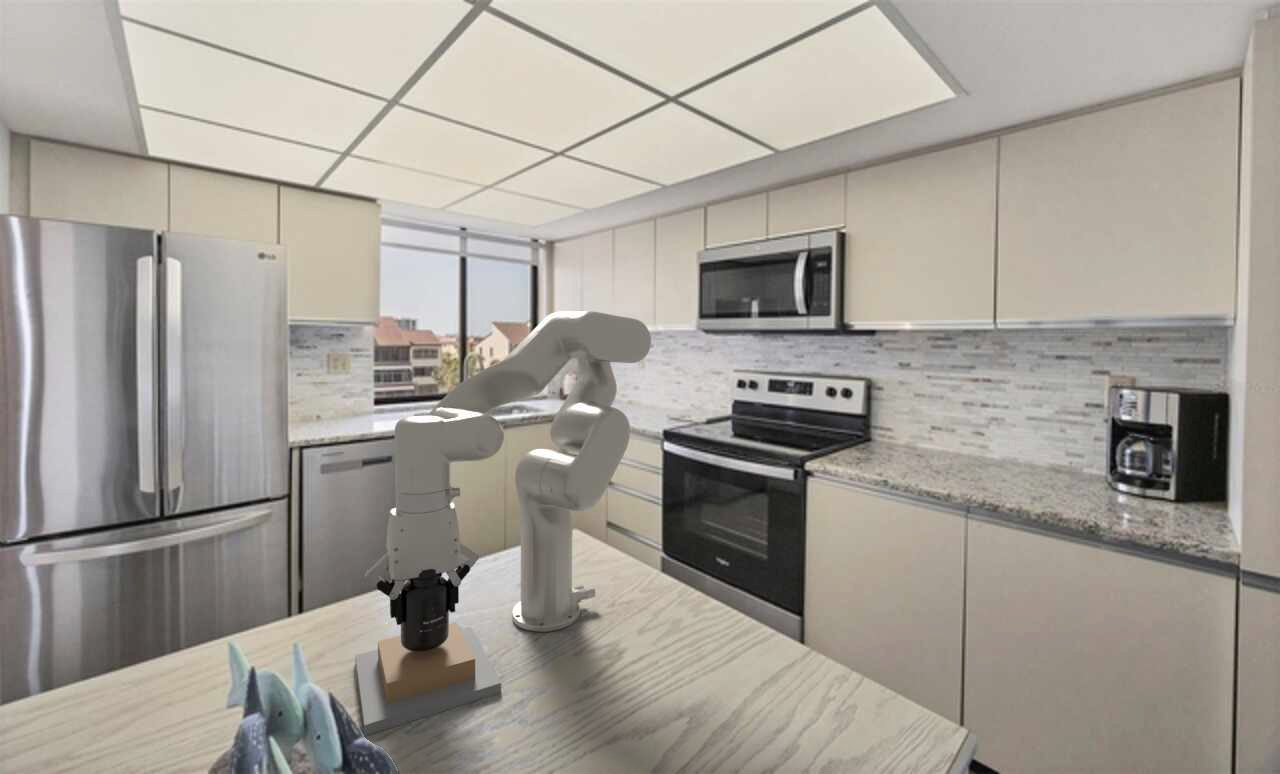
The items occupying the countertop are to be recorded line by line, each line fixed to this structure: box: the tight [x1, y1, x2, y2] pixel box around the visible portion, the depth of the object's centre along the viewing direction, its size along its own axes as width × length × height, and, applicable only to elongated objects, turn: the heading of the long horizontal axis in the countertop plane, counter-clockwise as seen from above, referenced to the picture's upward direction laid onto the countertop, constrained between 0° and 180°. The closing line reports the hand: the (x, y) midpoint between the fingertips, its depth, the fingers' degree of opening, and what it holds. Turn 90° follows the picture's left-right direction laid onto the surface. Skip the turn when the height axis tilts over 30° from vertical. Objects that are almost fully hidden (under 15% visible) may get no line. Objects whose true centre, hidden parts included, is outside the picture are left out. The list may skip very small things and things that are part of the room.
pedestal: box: [354, 621, 502, 737], centre depth 83 cm, size 18×18×4 cm
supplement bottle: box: [400, 569, 450, 652], centre depth 82 cm, size 7×7×12 cm
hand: (425, 613), depth 82 cm, fingers closed on supplement bottle, 6 cm apart
